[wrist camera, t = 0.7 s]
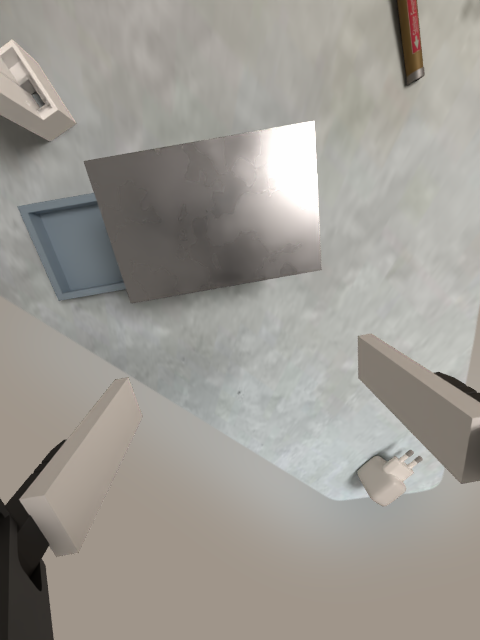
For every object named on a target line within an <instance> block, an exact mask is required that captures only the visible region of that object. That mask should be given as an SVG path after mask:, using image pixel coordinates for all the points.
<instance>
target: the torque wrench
mask: <svg viewBox="0 0 480 640" xmlns="http://www.w3.org/2000/svg"><path fill="white" fill-rule="evenodd" d="M397 3H398V11H399V19H400V28H401V36H402V45H403V53H404V61H405V70H406V82H407V85H409V84H410V83H411V82H413V81H414V80H416V81H417V80H419V79H420V78H422V77H423V76H424V75H425V74H424V67H423V59H422V49H421V38H420V28H419V18H418V7H417V0H397Z"/></svg>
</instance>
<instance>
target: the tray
mask: <svg viewBox="0 0 480 640" xmlns="http://www.w3.org/2000/svg"><path fill="white" fill-rule="evenodd" d="M17 207H18V209H19V211H20V214H21V216H22V218H23V221H24V223H25V225H26V227H27V230H28V232H29V234H30V236H31V239H32V241H33V243H34V246H35V248H36V250H37V252H38V255H39V257H40V259H41V262H42V264H43V266H44V268H45V271H46V273H47V275H48V278H49V280H50V282H51V284H52V287H53V289H54V291H55V294H56V296H57V298H58V300H59V301H60V300H66V299H72V298H78V297H83V296H89V295H95V294H100V293H106V292H112V291H117V290H123V289H126V287H125V284H124V281H123V278H122V275H121V272H120V269H119V266H118V263H117V260H116V257H115V254H114V251H113V248H112V245H111V242H110V239H109V236H108V233H107V230H106V227H105V224H104V221H103V218H102V215H101V212H100V209H99V206H98V203H97V200H96V197H95V194H94V193H91V194H85V195H79V196H74V197H68V198H62V199H56V200H51V201H45V202H39V203H34V204H28V205H22V206H17Z"/></svg>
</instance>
